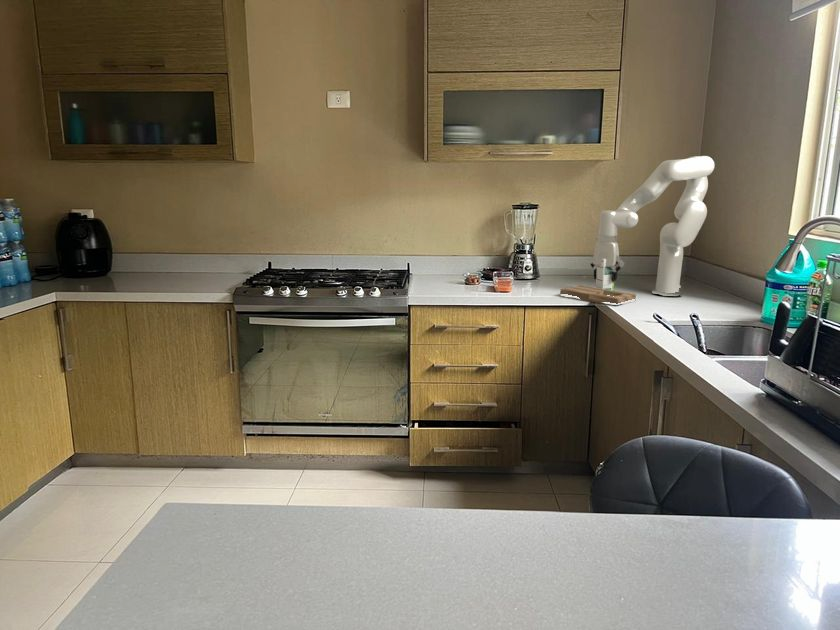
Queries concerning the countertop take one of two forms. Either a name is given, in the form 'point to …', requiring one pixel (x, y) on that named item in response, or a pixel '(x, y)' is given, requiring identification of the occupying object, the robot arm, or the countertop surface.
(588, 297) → the board
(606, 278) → the syrup box
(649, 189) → the robot arm
